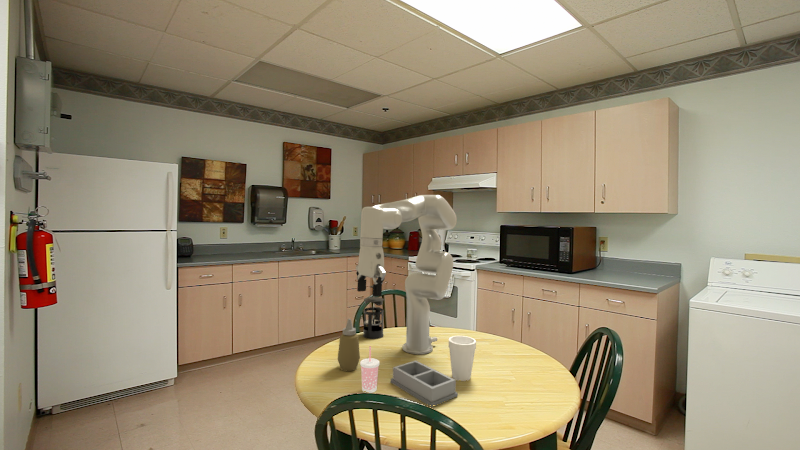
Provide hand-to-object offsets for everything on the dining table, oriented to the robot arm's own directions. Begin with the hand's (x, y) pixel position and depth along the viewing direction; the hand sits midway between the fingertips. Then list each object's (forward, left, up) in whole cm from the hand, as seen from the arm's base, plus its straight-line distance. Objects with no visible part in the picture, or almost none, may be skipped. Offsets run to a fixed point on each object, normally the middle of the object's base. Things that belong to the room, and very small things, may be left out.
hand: (369, 293), depth 129 cm
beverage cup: (+4, +7, -29) cm, 30 cm away
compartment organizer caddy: (-10, +17, -29) cm, 35 cm away
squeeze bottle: (+1, -11, -29) cm, 31 cm away
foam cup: (-27, +18, -29) cm, 44 cm away
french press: (-27, -36, -29) cm, 53 cm away
